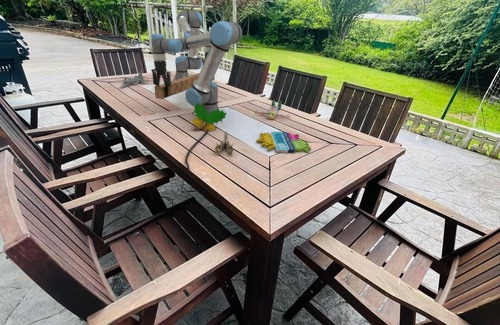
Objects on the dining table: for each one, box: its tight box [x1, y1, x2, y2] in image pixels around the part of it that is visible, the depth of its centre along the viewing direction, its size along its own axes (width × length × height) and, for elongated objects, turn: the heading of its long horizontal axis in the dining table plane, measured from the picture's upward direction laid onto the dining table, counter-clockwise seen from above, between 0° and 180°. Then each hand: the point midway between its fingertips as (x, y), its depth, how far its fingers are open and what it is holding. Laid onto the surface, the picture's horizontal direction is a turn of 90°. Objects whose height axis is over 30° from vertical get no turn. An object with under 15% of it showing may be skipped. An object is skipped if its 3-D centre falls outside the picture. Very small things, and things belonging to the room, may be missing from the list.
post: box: [154, 72, 216, 100], centre depth 207 cm, size 77×5×8 cm, turn 160°
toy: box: [253, 99, 292, 120], centre depth 196 cm, size 28×7×30 cm
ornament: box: [191, 102, 228, 132], centre depth 162 cm, size 21×8×15 cm, turn 105°
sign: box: [256, 131, 312, 154], centre depth 152 cm, size 26×2×30 cm
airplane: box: [119, 68, 152, 89], centre depth 248 cm, size 38×31×10 cm
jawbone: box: [214, 131, 234, 156], centre depth 136 cm, size 9×15×10 cm
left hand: (209, 79), depth 236 cm, fingers closed on post, 5 cm apart
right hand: (163, 95), depth 181 cm, fingers closed on post, 5 cm apart
